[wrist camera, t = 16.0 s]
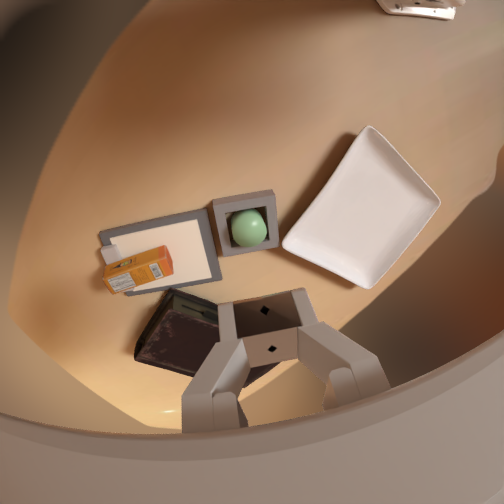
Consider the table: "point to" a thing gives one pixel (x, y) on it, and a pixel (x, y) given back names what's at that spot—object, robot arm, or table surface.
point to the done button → (248, 227)
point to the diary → (184, 336)
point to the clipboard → (178, 244)
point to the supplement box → (138, 270)
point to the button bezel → (242, 203)
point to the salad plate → (364, 213)
